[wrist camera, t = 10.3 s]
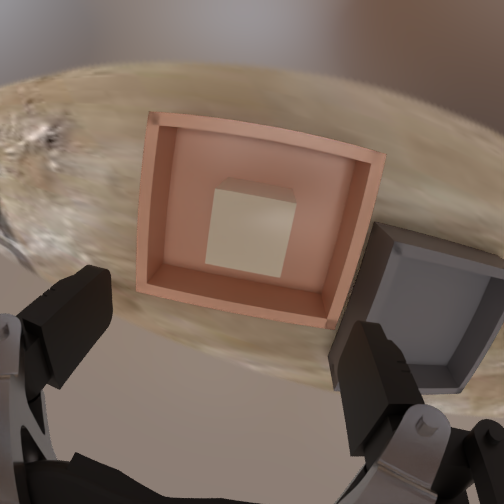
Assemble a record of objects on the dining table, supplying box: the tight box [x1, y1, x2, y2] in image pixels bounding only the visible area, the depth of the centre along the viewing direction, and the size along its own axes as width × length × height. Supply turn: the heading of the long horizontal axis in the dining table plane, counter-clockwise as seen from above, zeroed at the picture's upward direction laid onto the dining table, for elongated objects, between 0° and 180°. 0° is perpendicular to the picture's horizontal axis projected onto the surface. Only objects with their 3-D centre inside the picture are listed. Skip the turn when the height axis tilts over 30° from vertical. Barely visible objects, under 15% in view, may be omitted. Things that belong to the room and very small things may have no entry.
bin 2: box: [328, 221, 504, 395], centre depth 22 cm, size 14×13×4 cm
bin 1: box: [136, 111, 387, 330], centre depth 20 cm, size 14×12×4 cm
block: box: [205, 177, 297, 278], centre depth 19 cm, size 4×4×5 cm
